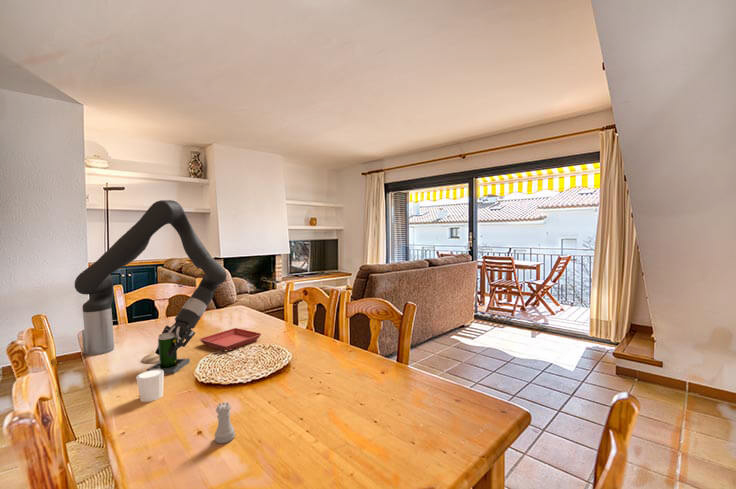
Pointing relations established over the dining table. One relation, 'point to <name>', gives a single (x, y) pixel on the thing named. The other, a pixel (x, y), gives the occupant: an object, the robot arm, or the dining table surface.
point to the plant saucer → (230, 339)
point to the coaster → (151, 358)
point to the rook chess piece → (224, 424)
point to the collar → (173, 370)
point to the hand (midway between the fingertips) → (163, 355)
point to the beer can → (166, 350)
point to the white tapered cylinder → (150, 385)
